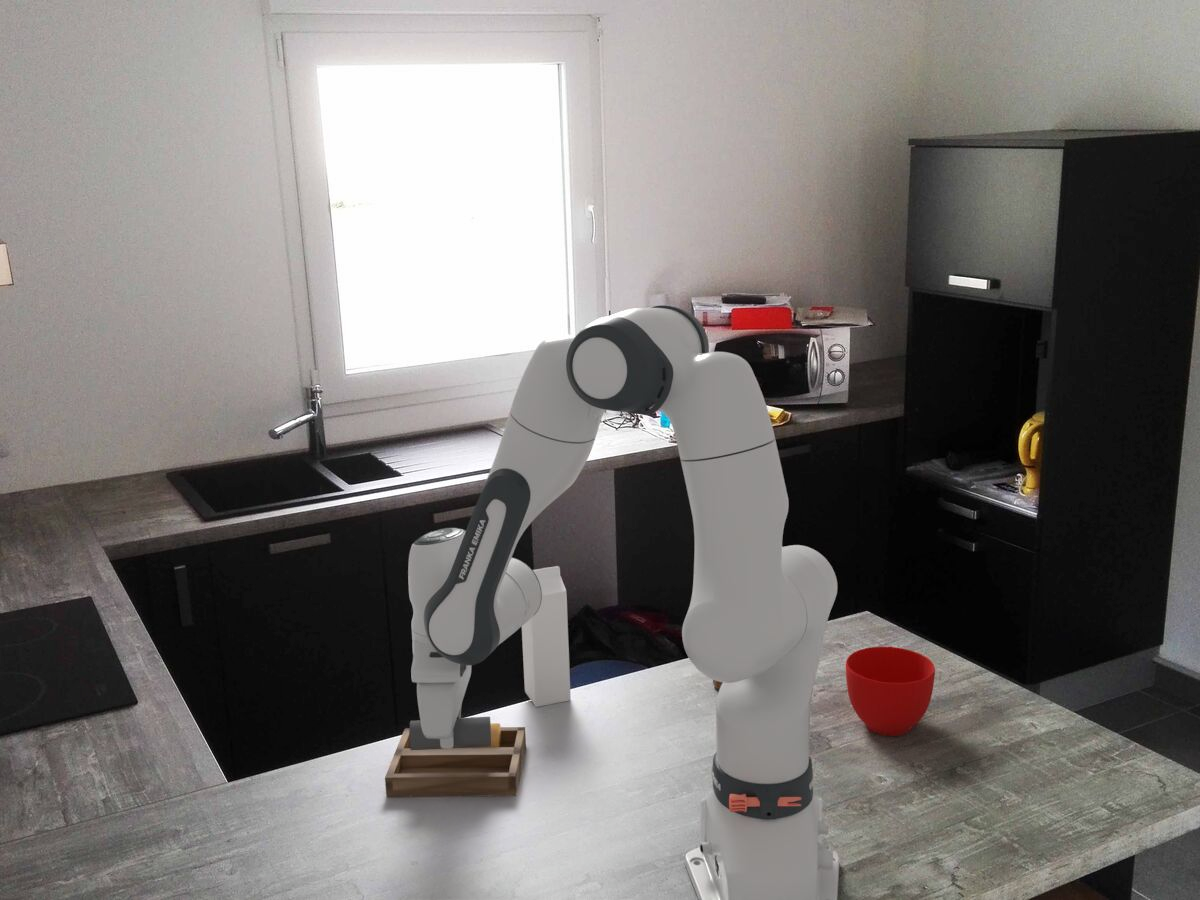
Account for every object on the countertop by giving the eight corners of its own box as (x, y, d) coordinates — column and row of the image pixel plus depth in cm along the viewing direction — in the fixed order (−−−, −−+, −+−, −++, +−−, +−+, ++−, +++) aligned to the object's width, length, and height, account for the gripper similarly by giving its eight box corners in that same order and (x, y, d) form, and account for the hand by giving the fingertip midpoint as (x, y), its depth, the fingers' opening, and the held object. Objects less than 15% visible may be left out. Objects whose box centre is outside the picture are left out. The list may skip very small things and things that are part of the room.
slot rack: (516, 795, 160) (515, 776, 159) (386, 797, 161) (384, 777, 160) (526, 745, 173) (525, 727, 173) (406, 746, 174) (404, 728, 173)
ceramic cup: (930, 697, 184) (933, 639, 182) (933, 750, 169) (936, 687, 166) (847, 691, 188) (848, 633, 185) (842, 741, 172) (843, 679, 169)
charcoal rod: (491, 737, 165) (489, 711, 164) (490, 751, 161) (489, 724, 160) (413, 741, 164) (411, 715, 163) (410, 755, 160) (408, 729, 159)
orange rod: (501, 739, 173) (499, 717, 171) (498, 757, 169) (496, 734, 167) (428, 740, 173) (425, 718, 171) (423, 758, 169) (420, 735, 168)
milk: (524, 692, 191) (517, 565, 185) (559, 685, 193) (553, 559, 187) (535, 708, 185) (528, 577, 180) (571, 700, 187) (565, 571, 182)
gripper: (435, 614, 169) (441, 701, 172) (408, 677, 149) (415, 773, 152) (478, 614, 168) (483, 701, 172) (457, 676, 149) (462, 773, 152)
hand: (451, 735), depth 162 cm, fingers closed on charcoal rod, 4 cm apart
